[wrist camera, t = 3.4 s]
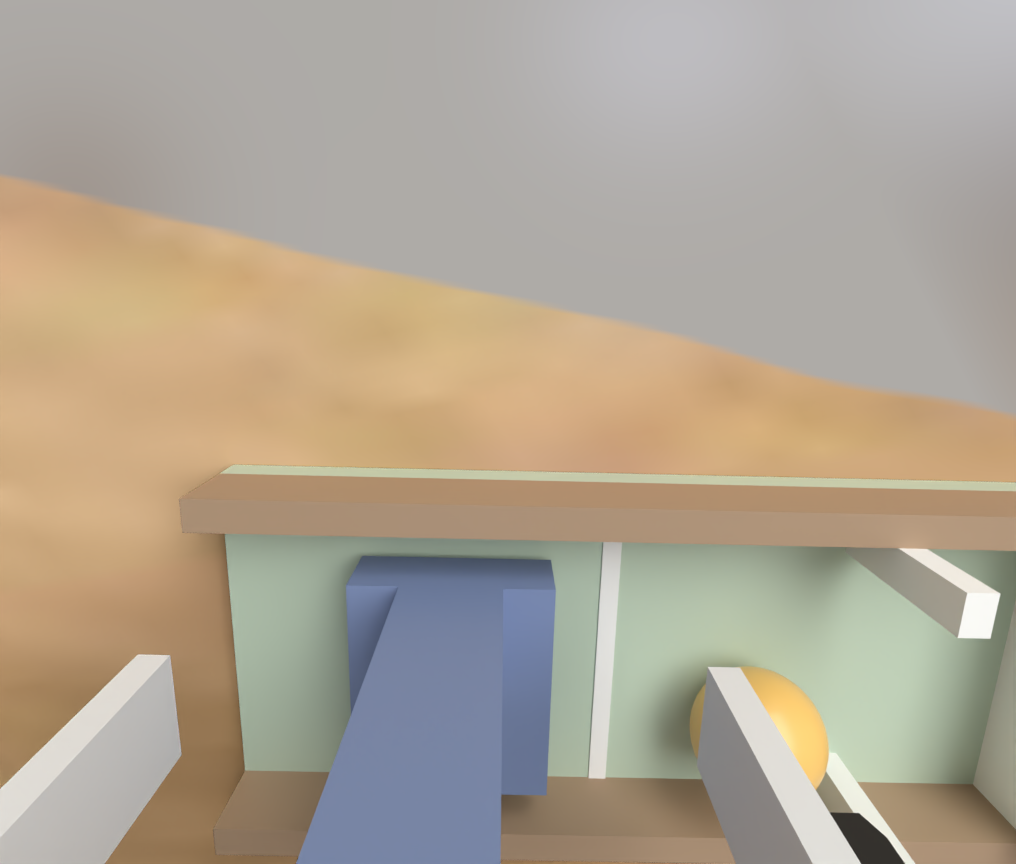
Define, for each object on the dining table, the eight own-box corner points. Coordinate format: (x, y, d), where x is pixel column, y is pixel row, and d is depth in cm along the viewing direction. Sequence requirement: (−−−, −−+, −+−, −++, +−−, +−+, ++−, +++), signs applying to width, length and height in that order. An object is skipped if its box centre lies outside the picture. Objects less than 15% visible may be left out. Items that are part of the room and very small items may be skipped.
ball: (670, 742, 21) (706, 843, 17) (680, 640, 20) (721, 722, 16) (783, 744, 21) (845, 845, 17) (798, 642, 20) (867, 725, 16)
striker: (368, 745, 21) (111, 1579, 7) (362, 556, 19) (20, 1174, 6) (542, 748, 21) (609, 1584, 7) (551, 559, 19) (653, 1181, 6)
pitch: (258, 772, 23) (171, 939, 17) (233, 464, 20) (120, 535, 14) (973, 785, 23) (1135, 955, 17) (1044, 482, 20) (1264, 560, 14)
